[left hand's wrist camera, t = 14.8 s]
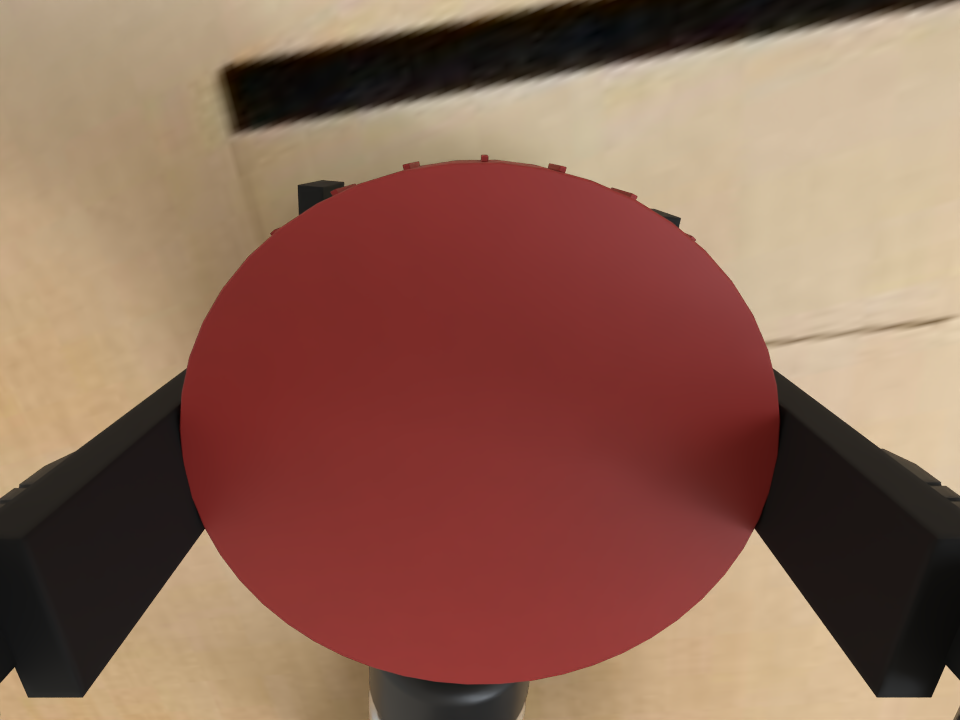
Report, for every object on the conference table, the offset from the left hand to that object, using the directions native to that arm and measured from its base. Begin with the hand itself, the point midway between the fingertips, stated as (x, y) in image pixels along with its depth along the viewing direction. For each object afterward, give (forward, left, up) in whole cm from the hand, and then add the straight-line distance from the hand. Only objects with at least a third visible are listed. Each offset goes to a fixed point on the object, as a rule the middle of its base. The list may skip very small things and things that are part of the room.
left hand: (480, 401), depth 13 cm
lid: (0, 0, +3) cm, 3 cm away
